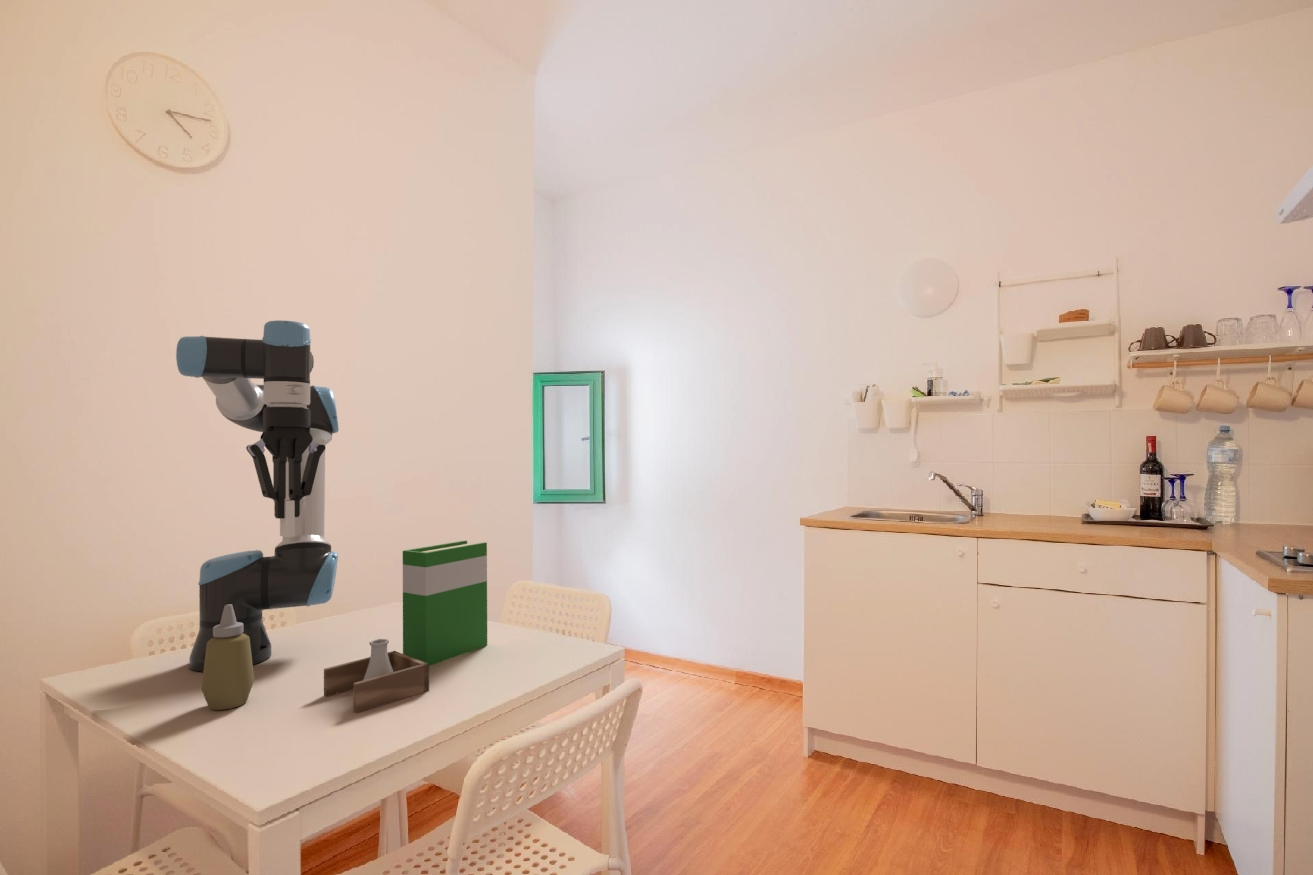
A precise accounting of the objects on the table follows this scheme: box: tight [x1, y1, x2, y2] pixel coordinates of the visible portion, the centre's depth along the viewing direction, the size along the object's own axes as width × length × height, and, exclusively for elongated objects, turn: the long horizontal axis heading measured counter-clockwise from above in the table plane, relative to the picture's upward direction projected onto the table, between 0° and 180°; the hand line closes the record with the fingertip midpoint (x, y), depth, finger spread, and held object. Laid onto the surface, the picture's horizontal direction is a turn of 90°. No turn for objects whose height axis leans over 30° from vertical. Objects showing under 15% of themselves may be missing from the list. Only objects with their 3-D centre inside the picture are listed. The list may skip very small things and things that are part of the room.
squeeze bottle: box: [200, 604, 255, 711], centre depth 120 cm, size 8×8×18 cm
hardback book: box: [402, 540, 488, 667], centre depth 150 cm, size 18×7×24 cm, turn 149°
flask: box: [363, 638, 393, 680], centre depth 125 cm, size 7×7×10 cm
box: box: [323, 650, 430, 714], centre depth 125 cm, size 13×14×5 cm
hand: (287, 535), depth 121 cm, fingers closed
